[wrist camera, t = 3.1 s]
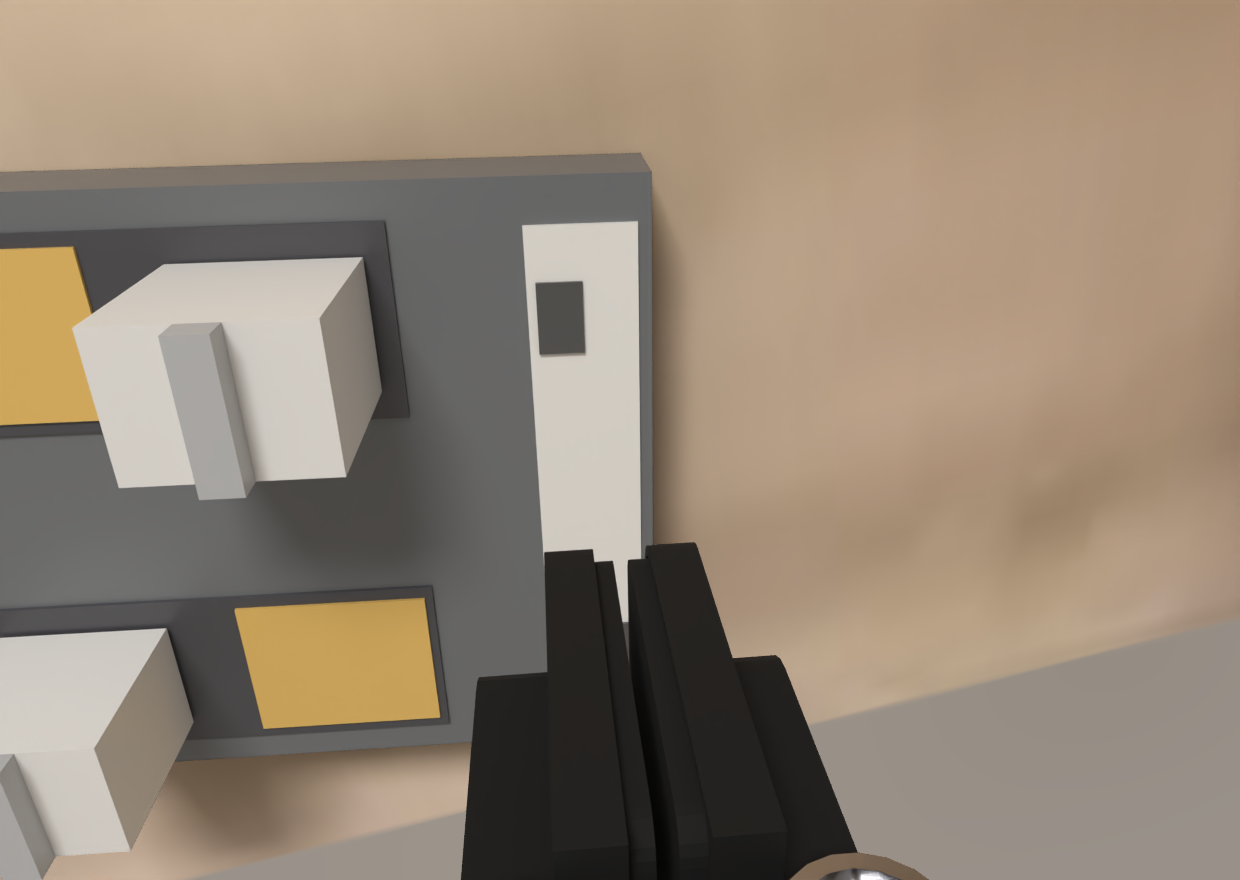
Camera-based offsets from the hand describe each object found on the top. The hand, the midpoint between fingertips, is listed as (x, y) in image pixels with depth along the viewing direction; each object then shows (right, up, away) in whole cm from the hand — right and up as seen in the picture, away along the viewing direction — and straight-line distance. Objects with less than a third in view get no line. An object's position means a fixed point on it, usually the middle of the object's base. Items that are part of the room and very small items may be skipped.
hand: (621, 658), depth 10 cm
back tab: (-13, -4, +13) cm, 19 cm away
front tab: (-7, +5, +9) cm, 13 cm away
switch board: (-10, +2, +13) cm, 17 cm away
